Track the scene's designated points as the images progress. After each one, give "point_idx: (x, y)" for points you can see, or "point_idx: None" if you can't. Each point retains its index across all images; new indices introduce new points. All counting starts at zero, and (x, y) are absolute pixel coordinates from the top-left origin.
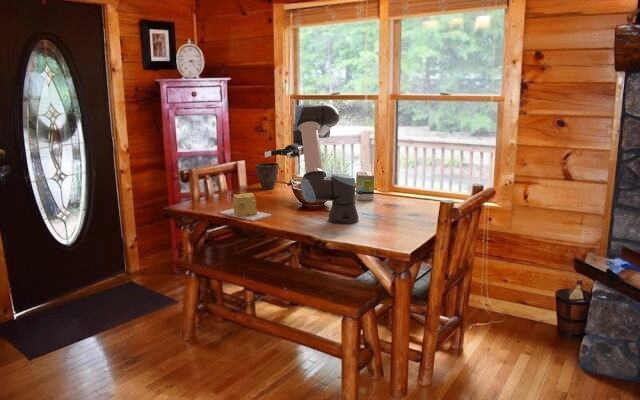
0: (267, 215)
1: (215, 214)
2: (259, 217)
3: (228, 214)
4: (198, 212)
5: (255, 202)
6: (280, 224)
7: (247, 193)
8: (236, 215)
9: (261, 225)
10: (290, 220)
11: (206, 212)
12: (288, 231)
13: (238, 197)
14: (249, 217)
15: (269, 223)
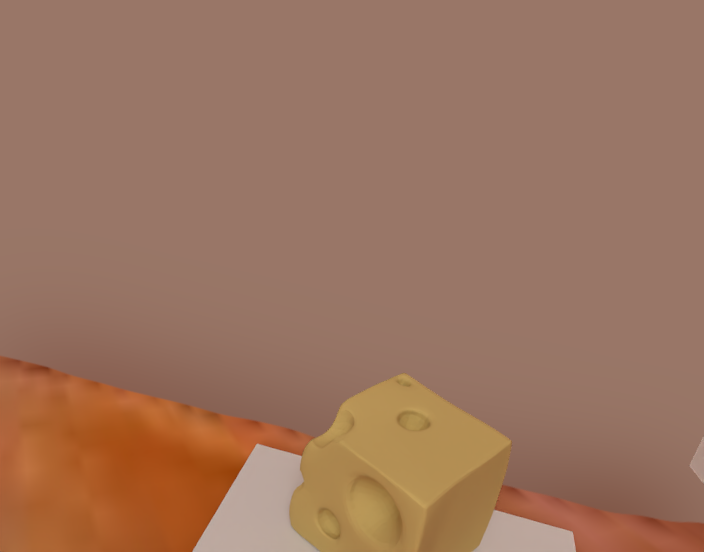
0: (206, 535)
1: (569, 517)
2: (243, 484)
3: None
4: (696, 530)
5: (305, 450)
6: (72, 432)
7: (437, 476)
8: None
9: (182, 405)
10: (5, 509)
11: (660, 542)
12: (13, 360)
13: (411, 386)
14: None
15: (146, 436)
